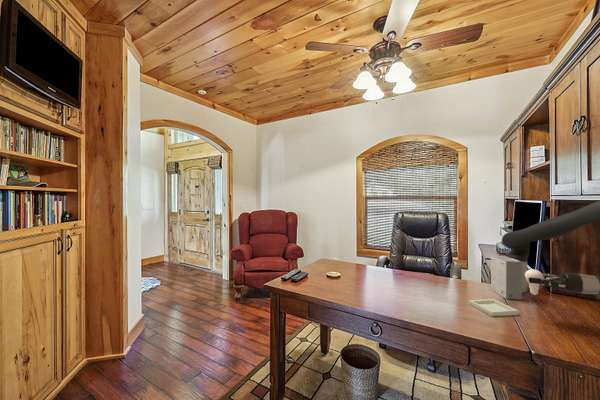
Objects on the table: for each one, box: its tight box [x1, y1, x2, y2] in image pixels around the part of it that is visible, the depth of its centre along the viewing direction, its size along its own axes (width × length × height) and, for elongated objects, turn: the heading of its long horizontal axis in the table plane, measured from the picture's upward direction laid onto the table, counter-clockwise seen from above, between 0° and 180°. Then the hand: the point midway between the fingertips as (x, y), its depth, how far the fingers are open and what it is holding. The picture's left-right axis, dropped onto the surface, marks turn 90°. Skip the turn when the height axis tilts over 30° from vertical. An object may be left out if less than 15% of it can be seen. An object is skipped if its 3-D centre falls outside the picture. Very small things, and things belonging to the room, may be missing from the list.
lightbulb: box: [525, 268, 544, 296], centre depth 110 cm, size 6×6×11 cm
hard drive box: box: [490, 254, 523, 301], centre depth 138 cm, size 16×8×20 cm, turn 168°
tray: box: [468, 298, 520, 318], centre depth 120 cm, size 13×13×2 cm
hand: (526, 277), depth 111 cm, fingers closed on lightbulb, 6 cm apart
